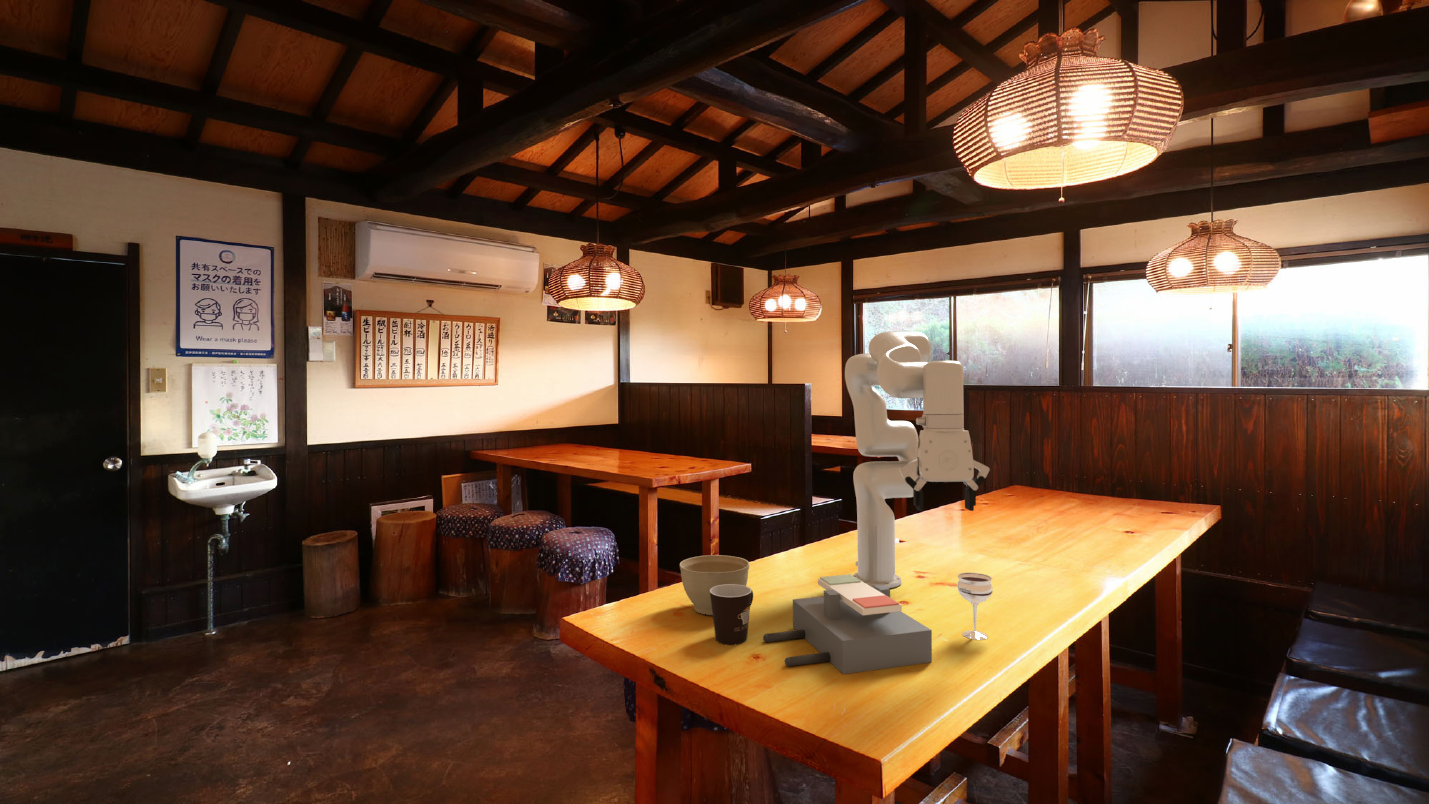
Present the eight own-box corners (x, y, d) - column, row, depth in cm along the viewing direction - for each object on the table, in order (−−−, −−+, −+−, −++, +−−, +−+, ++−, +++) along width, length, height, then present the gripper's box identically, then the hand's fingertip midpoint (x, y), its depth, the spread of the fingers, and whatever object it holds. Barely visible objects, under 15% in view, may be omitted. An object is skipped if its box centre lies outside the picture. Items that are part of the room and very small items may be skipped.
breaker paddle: (817, 585, 139) (817, 577, 139) (853, 581, 141) (853, 574, 141) (861, 616, 120) (861, 607, 120) (902, 611, 122) (902, 602, 122)
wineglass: (959, 627, 139) (959, 571, 138) (994, 632, 136) (994, 574, 135) (955, 638, 133) (954, 579, 132) (991, 643, 129) (991, 583, 129)
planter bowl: (764, 610, 151) (763, 563, 151) (709, 627, 141) (708, 577, 140) (720, 594, 163) (719, 550, 163) (666, 608, 153) (666, 562, 153)
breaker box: (754, 631, 138) (753, 580, 137) (869, 618, 144) (868, 570, 144) (797, 680, 114) (796, 619, 114) (931, 662, 121) (931, 604, 121)
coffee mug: (722, 650, 128) (722, 599, 128) (703, 635, 136) (702, 588, 136) (772, 639, 133) (772, 590, 133) (751, 625, 141) (750, 579, 141)
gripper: (903, 424, 126) (904, 513, 126) (995, 423, 125) (996, 513, 125) (894, 423, 133) (895, 507, 133) (981, 422, 132) (982, 506, 132)
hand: (944, 509), depth 129 cm, fingers open, 9 cm apart
